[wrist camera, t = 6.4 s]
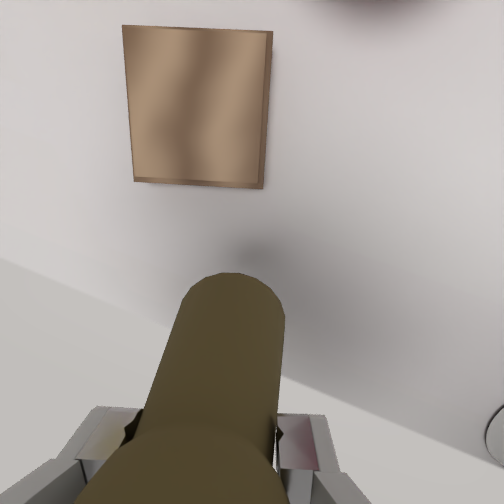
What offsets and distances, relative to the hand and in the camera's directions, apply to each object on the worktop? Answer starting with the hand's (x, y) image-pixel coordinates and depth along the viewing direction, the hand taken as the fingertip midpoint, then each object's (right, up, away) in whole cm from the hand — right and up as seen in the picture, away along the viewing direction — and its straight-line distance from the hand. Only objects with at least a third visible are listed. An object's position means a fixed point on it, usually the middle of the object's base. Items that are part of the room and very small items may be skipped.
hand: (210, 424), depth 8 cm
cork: (0, +2, +6) cm, 7 cm away
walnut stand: (-3, +18, +17) cm, 25 cm away
